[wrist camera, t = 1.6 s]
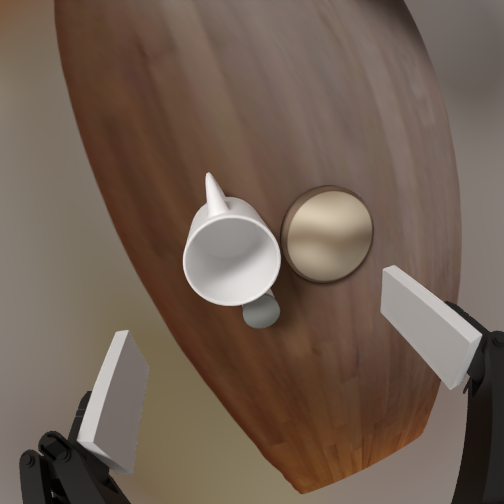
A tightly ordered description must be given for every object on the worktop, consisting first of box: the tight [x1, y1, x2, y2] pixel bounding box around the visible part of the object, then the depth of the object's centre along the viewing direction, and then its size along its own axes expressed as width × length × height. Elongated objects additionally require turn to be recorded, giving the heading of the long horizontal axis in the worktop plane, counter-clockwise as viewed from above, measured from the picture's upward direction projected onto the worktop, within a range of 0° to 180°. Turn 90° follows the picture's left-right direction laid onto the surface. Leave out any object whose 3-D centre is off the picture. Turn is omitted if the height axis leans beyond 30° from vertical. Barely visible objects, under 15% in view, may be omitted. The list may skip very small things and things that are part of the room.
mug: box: [183, 173, 281, 306], centre depth 28 cm, size 9×12×11 cm
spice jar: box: [242, 288, 280, 328], centre depth 34 cm, size 4×4×7 cm
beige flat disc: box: [280, 185, 374, 283], centre depth 35 cm, size 13×13×2 cm
